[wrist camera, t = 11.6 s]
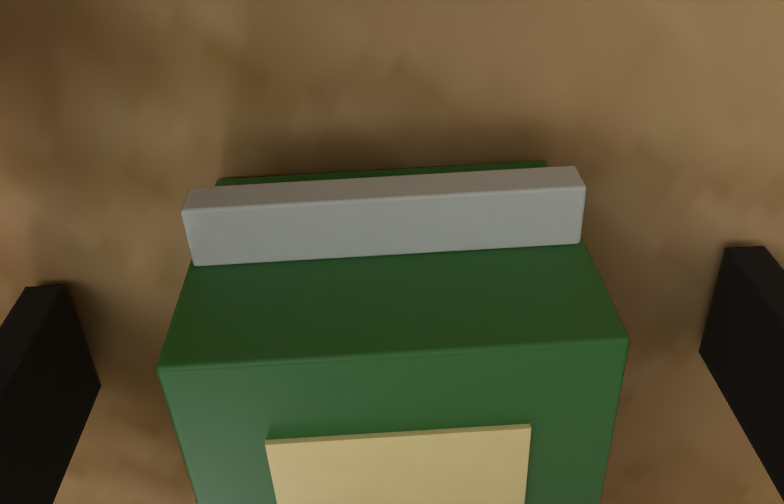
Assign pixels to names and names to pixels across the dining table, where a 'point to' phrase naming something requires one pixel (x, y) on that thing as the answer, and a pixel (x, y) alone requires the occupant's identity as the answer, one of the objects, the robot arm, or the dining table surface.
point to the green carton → (394, 339)
